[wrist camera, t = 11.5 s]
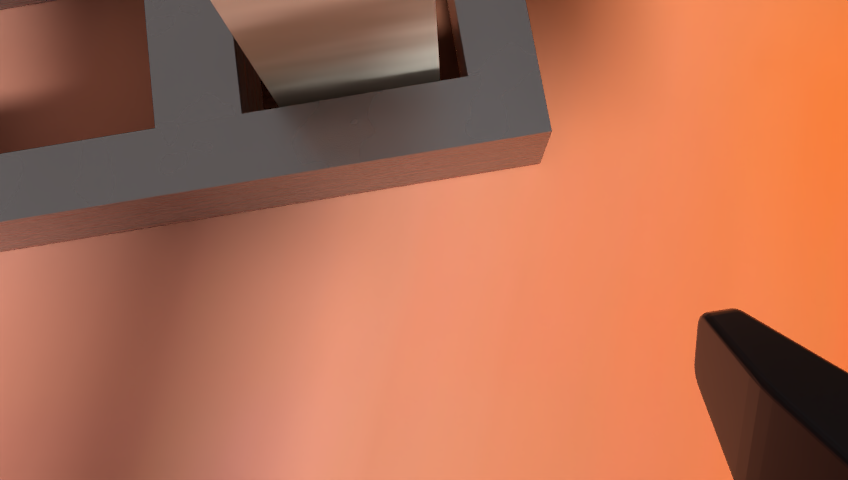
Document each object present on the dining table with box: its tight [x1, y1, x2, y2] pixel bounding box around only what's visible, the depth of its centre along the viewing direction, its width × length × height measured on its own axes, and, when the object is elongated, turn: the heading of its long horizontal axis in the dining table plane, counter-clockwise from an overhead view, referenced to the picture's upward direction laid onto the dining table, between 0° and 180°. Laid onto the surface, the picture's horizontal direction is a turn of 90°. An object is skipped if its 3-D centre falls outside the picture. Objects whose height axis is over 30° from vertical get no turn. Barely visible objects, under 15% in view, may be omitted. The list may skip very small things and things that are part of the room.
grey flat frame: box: [0, 0, 552, 252], centre depth 23 cm, size 10×20×3 cm, turn 99°
